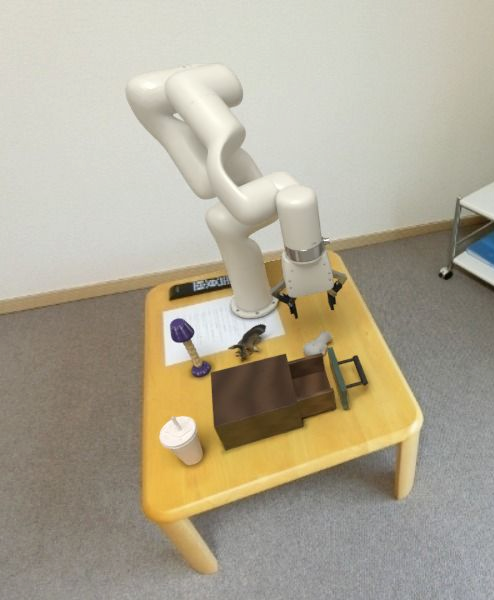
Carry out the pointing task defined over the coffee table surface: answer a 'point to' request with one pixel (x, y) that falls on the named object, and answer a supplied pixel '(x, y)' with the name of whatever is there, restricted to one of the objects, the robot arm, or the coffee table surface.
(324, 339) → the pale two-lobed sculpture
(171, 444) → the smoothie
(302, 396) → the drawer
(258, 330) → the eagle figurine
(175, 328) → the toy lamp
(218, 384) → the cabinet
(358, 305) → the coffee table surface
